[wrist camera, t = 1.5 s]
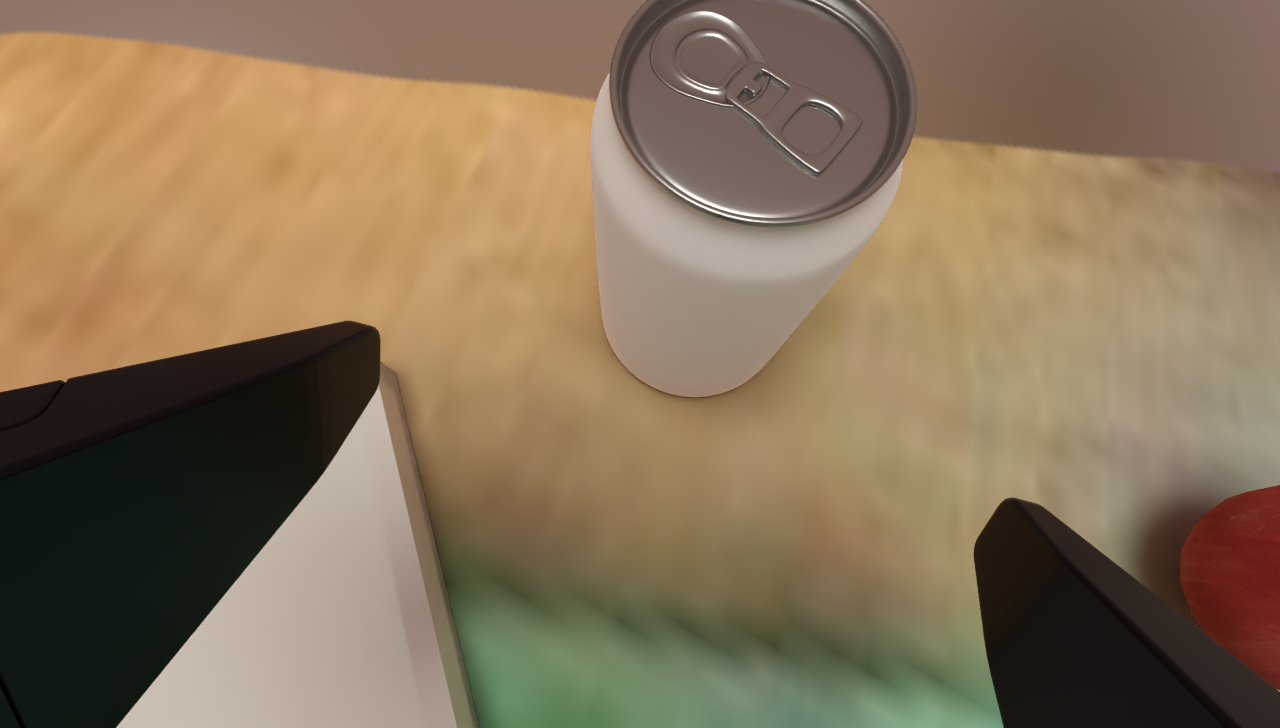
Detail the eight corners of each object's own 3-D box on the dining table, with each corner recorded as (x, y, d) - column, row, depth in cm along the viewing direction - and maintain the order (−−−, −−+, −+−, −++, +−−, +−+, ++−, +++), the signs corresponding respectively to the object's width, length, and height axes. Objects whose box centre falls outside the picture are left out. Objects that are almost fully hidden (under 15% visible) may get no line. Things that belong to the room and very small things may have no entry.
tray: (500, 815, 19) (485, 849, 17) (27, 995, 17) (-55, 1058, 15) (395, 372, 22) (371, 355, 20) (-7, 491, 21) (-78, 485, 19)
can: (675, 199, 24) (729, -111, 13) (815, 302, 23) (1008, 68, 12) (563, 324, 23) (509, 100, 11) (707, 438, 22) (808, 323, 10)
